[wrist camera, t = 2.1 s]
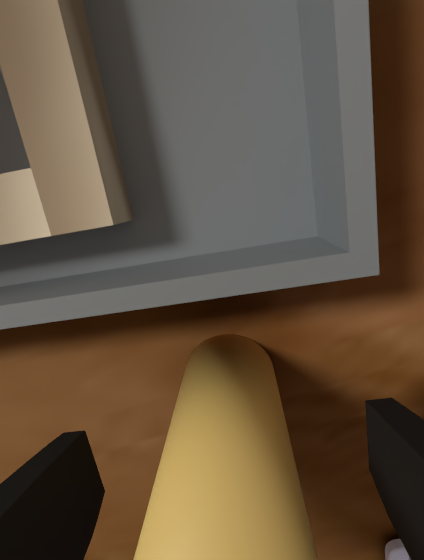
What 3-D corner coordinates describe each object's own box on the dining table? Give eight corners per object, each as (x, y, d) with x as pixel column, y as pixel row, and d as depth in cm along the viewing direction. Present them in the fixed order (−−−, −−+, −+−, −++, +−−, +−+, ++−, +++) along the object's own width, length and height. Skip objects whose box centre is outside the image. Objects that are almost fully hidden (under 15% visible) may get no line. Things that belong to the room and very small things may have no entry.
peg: (268, 328, 11) (352, 653, 3) (278, 408, 12) (367, 820, 4) (177, 340, 11) (58, 659, 4) (194, 417, 12) (126, 811, 4)
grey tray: (294, -279, 7) (342, -645, 4) (334, 249, 10) (379, 274, 7) (-293, -85, 9) (-579, -235, 6) (-109, 318, 12) (-230, 362, 9)
